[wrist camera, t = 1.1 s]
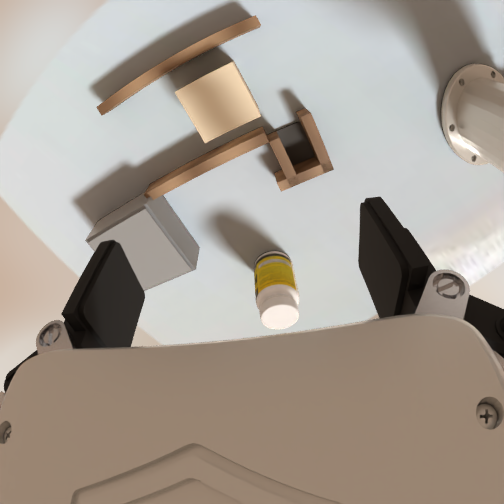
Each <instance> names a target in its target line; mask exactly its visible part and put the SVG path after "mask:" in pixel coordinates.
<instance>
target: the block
mask: <svg viewBox="0 0 504 504" xmlns="http://www.w3.org/2000/svg"><path fill="white" fill-rule="evenodd" d="M175 94H176V95H177V97H178V99H179V100H180V102H181V104H182V105H183V107H184V109H185V110H186V112H187V114H188V115H189V117H190V119H191V120H192V122H193V124H194V125H195V127H196V129H197V131H198V132H199V134H200V136H201V137H202V139H203V141H204V142H205V143H207V142H209V141H211V140H213V139H215V138H217V137H219V136H221V135H223V134H225V133H227V132H229V131H231V130H233V129H235V128H237V127H239V126H241V125H243V124H245V123H248V122H250V121H252V120H254V119H256V118H259V117H261V114H260V111H259V108H258V105H257V103H256V101H255V100H254V98H253V96H252V94H251V92H250V90H249V88H248V86H247V84H246V82H245V81H244V79H243V77H242V75H241V73H240V71H239V69H238V68H237V66H236V64H235V62H234V61H233V62H231V63H229V64H226V65H224V66H222V67H220V68H218V69H216V70H214V71H212V72H210V73H208V74H206V75H204V76H203V77H201V78H199V79H197V80H195V81H193V82H191V83H190V84H188V85H186V86H184V87H183V88H181V89H179V90H178V91H176V92H175Z"/></svg>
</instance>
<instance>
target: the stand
mask: <svg viewBox="0 0 504 504" xmlns="http://www.w3.org/2000/svg"><path fill="white" fill-rule="evenodd" d="M144 194H145V193H143V194H141V195H139V196H138V197H136V198H134V199H133V200H131V201H129V202H128V203H126V204H124V205H123V206H121V207H120V208H118V209H116V210H115V211H113V212H111V213H110V214H108V215H107V216H105V217H104V218H102V219H100V220H99V221H98V222H97V223H96V225H95V226H94V228H93V229H92V231H91V232H90V234H89V235H88V237H87V239H86V240H85V241H86V242H87V243H88V244H89V245H90V247H91V248H92V249H93V250H94V251H96V249H97V247H98V245H99V244H100V243H101V242H103V241H108V240H115V241H116V242H118V243H120V244H121V246H122V248H123V250H124V253H125V255H126V257H127V259H128V261H129V263H130V265H131V267H132V269H133V271H134V273H135V275H136V277H137V279H138V281H139V283H140V284H141V286H142V288H143V290H144V291H145V290H148V289H150V288H153V287H155V286H157V285H160V284H162V283H164V282H167V281H169V280H172V279H174V278H176V277H179V276H181V275H184V274H186V273H188V272H191V271H193V270H195V269H196V266H197V260H198V254H199V248H200V247H199V246H198V244H197V243H196V242H195V240H194V239H193V237H192V236H191V235H190V233H189V232H188V230H187V229H186V228H185V226H184V225H183V223H182V222H181V220H180V219H179V218H178V216H177V215H176V213H175V212H174V211H173V209H172V208H171V206H170V205H169V203H168V202H167V200H166V199H165V198H164V196H163V195H162V196H160V197H158V198H156V199H155V200H153V199H152V198H151V196H150V197H148V198H146V197H145V196H144Z"/></svg>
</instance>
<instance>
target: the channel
mask: <svg viewBox="0 0 504 504" xmlns="http://www.w3.org/2000/svg"><path fill="white" fill-rule="evenodd" d="M260 26H261V24H260V22H259V20H258V19H257V17H256V15H255V16H253V17H250V18H248V19H246V20H243V21H241V22H239V23H236V24H234V25H232V26H230V27H227V28H225V29H223V30H221V31H219V32H217V33H215V34H213V35H211V36H209V37H207V38H205V39H203V40H201V41H199V42H197V43H195V44H193V45H191V46H189V47H188V48H186V49H184V50H182V51H180V52H179V53H177V54H175V55H173V56H172V57H170V58H168V59H166V60H165V61H163V62H161V63H160V64H158V65H157V66H155V67H153V68H152V69H150V70H149V71H147V72H145V73H144V74H142V75H141V76H139V77H138V78H136V79H135V80H133V81H132V82H130V83H129V84H127V85H126V86H125V87H123V88H122V89H120V90H119V91H118V92H116V93H115V94H113V95H112V96H111V97H109V98H108V99H107V100H105V101H104V102H103V103H101V104H100V105H99V106H97V109H98V110H99V112H100V114H101V115H104V114H105V113H107V112H109V111H111V110H112V109H114V108H115V107H117V106H118V105H119V104H121V103H122V102H124V101H125V100H127V99H128V98H129V97H131V96H132V95H134V94H135V93H137V92H138V91H140V90H141V89H143V88H144V87H146V86H148V85H149V84H151V83H152V82H154V81H156V80H157V79H159V78H160V77H162V76H164V75H165V74H167V73H169V72H170V71H172V70H174V69H176V68H177V67H179V66H181V65H183V64H184V63H186V62H188V61H190V60H192V59H194V58H195V57H197V56H199V55H201V54H203V53H205V52H207V51H209V50H211V49H213V48H215V47H217V46H219V45H221V44H223V43H225V42H227V41H229V40H232V39H234V38H236V37H238V36H240V35H243V34H245V33H247V32H250V31H252V30H254V29H257V28H259V27H260ZM296 113H297V116H298V118H299V120H300V121H299V122H296V123H294V124H291V125H289V126H287V127H284V128H282V129H280V130H277V131H275V132H273V133H271V134H268V135H266V133H265V131H264V129H263V127H260V128H258V129H255V130H253V131H251V132H249V133H247V134H245V135H243V136H240V137H238V138H236V139H234V140H232V141H230V142H228V143H226V144H224V145H222V146H220V147H218V148H216V149H214V150H212V151H210V152H208V153H206V154H204V155H202V156H200V157H198V158H196V159H194V160H193V161H191V162H189V163H187V164H185V165H183V166H181V167H180V168H178V169H176V170H174V171H172V172H170V173H169V174H167V175H165V176H163V177H162V178H160V179H158V180H156V181H155V182H153V183H151V184H150V185H149V187H148V188H147V190H146V192H145V194H144V196H145V197H146V198H148V197H150V196H151V198H152V199H153V200H155V199H156V198H158V197H160V196H162V195H164V194H165V193H167V192H169V191H171V190H173V189H175V188H177V187H178V186H180V185H182V184H184V183H186V182H188V181H190V180H192V179H194V178H196V177H198V176H200V175H202V174H203V173H205V172H207V171H209V170H211V169H213V168H215V167H217V166H220V165H222V164H224V163H226V162H228V161H230V160H232V159H234V158H236V157H238V156H240V155H242V154H245V153H247V152H249V151H251V150H253V149H255V148H258V147H260V146H262V145H264V144H266V143H270V145H271V147H272V149H273V151H274V154H275V156H276V158H277V160H278V162H279V164H280V166H281V168H282V170H280V171H278V172H276V173H275V177H276V181H277V184H278V186H279V188H280V190H281V191H284V190H286V189H288V188H291V187H293V186H295V185H298V184H300V183H302V182H305V181H307V180H310V179H312V178H314V177H317V176H319V175H322V174H324V173H326V172H329V171H331V170H334V169H333V166H332V164H331V161H330V159H329V156H328V153H327V151H326V148H325V146H324V143H323V141H322V138H321V136H320V134H319V131H318V129H317V126H316V124H315V122H314V119H313V117H312V115H311V113H310V112H309V111H308V110H307V109H306V108H304V109H302V110H299V111H297V112H296Z"/></svg>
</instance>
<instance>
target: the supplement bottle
mask: <svg viewBox="0 0 504 504" xmlns="http://www.w3.org/2000/svg"><path fill="white" fill-rule="evenodd" d="M254 277H255V294H256V304H257V307H258V309H259V310H260V317H261V321H262V323H263V324H264V325H265V326H266V327H268V328H271V329H284V328H287V327H290V326H291V325H293V324H294V323H295V322H296V321H297V320H298V317H299V311H298V303H299V292H298V288H297V283H296V278H295V274H294V269H293V264H292V261H291V259H290V258H289V257H288V256H287V255H286V254H284V253H282V252H278V251H271V252H267V253H264V254H263V255H261V256H260V257H259V258H258V259H257V260H256V262H255V264H254Z"/></svg>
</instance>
